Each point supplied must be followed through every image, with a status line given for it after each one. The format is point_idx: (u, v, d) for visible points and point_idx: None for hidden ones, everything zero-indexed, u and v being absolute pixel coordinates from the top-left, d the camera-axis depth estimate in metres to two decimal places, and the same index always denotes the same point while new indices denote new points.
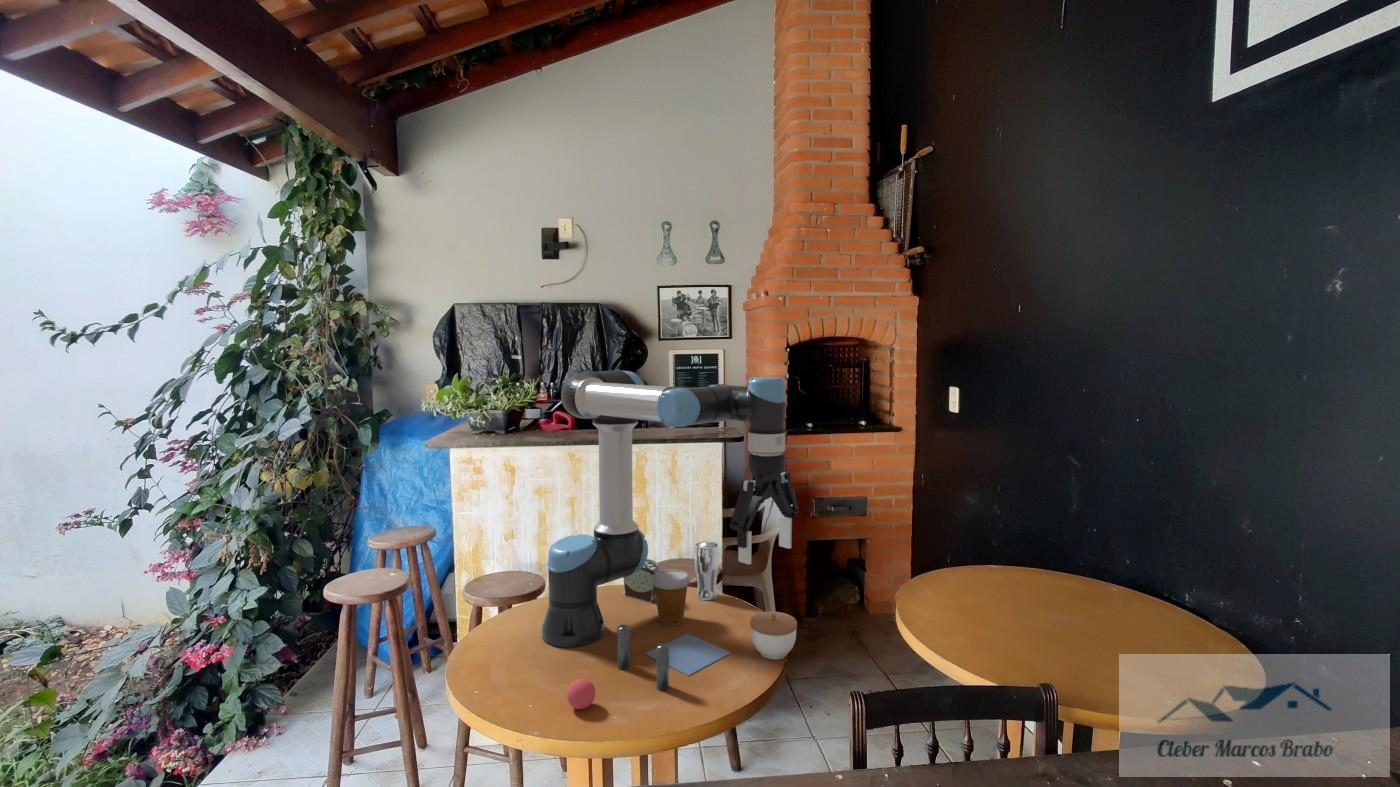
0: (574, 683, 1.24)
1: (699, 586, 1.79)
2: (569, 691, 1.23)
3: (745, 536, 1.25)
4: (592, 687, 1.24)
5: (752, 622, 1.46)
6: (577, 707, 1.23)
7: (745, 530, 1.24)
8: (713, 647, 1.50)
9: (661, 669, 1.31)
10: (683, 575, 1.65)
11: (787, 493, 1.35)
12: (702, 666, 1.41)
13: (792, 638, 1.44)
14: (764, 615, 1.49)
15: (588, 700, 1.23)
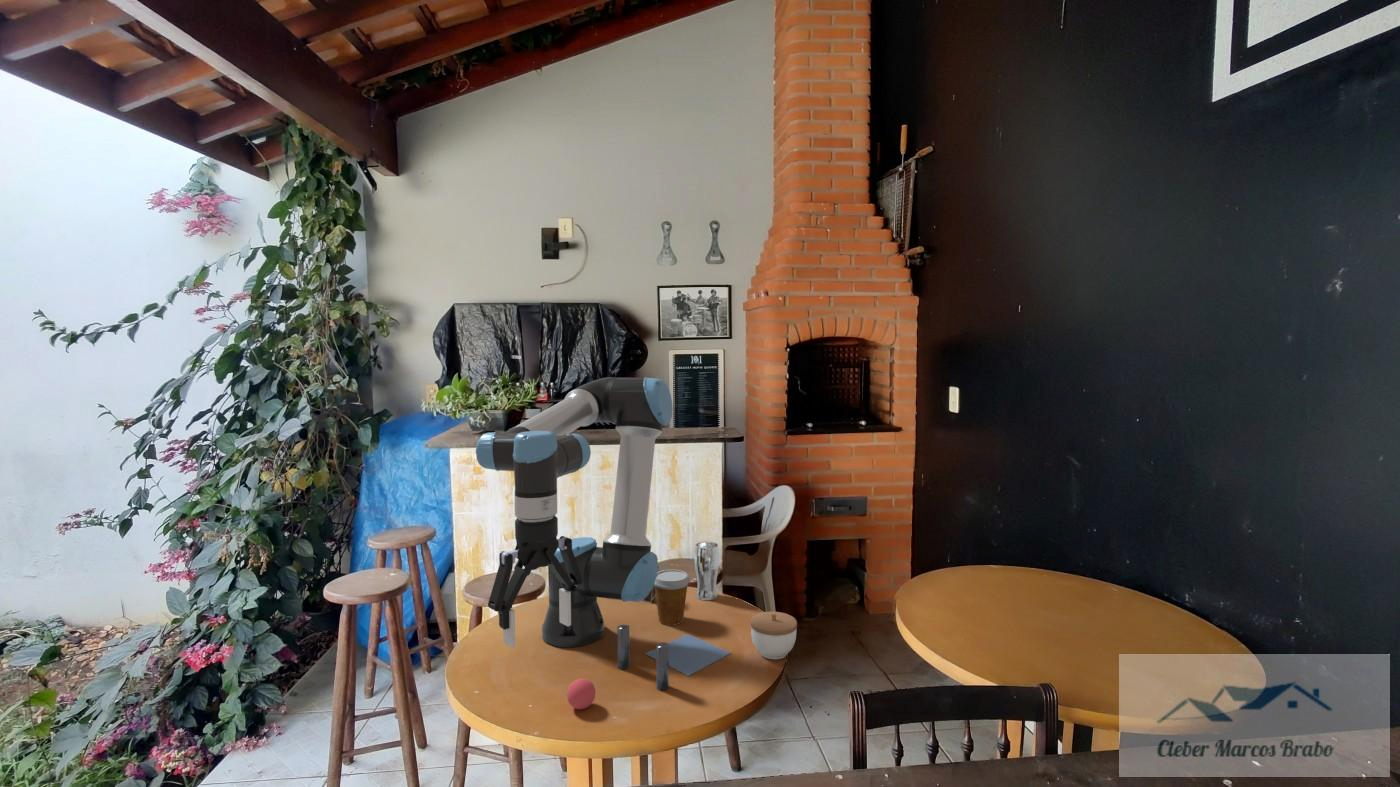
0: (574, 683, 1.24)
1: (699, 586, 1.79)
2: (569, 691, 1.23)
3: (506, 616, 1.11)
4: (592, 687, 1.24)
5: (752, 622, 1.46)
6: (577, 707, 1.23)
7: (505, 610, 1.10)
8: (713, 647, 1.50)
9: (661, 669, 1.31)
10: (683, 575, 1.65)
11: (568, 562, 1.20)
12: (702, 666, 1.41)
13: (792, 638, 1.44)
14: (764, 615, 1.49)
15: (588, 700, 1.23)
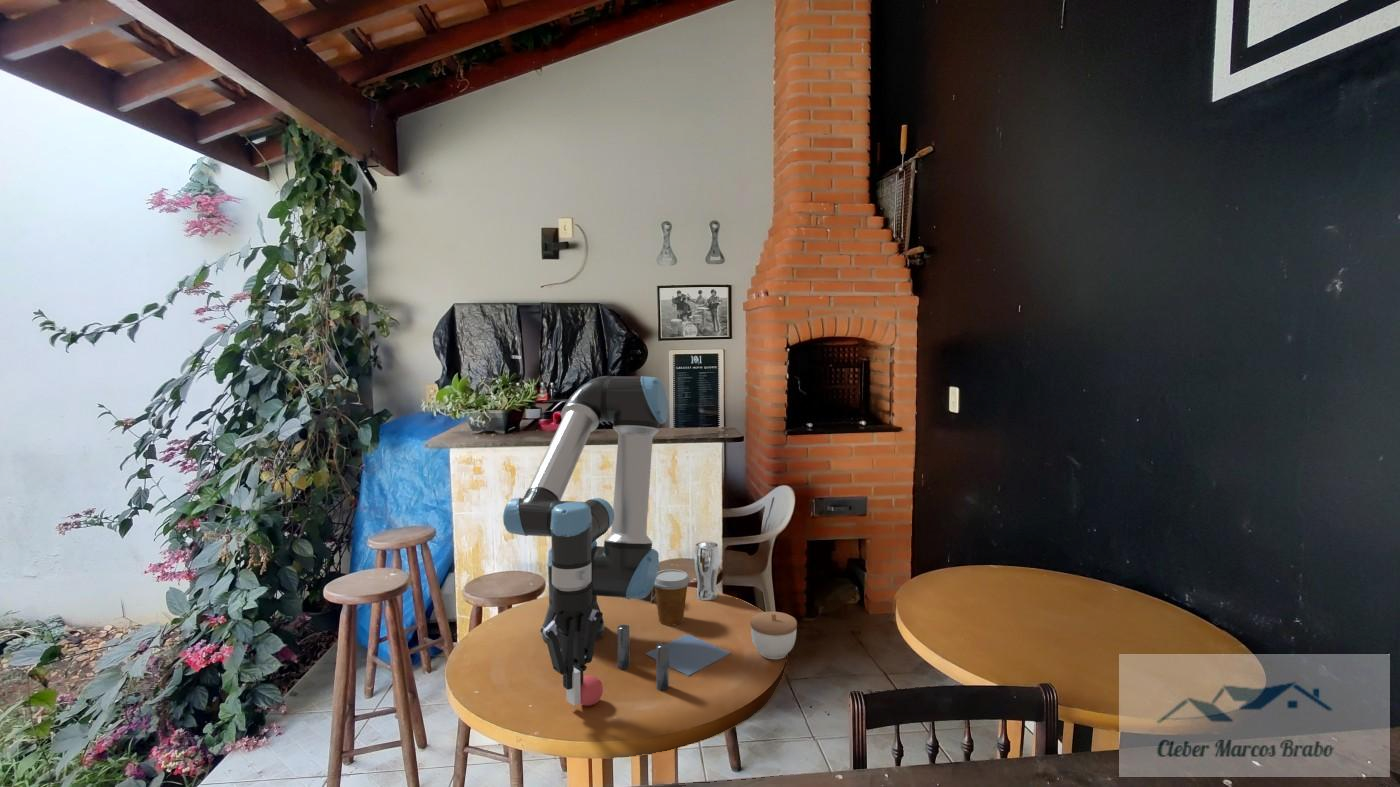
0: (586, 676, 1.26)
1: (699, 586, 1.79)
2: None
3: (570, 678, 1.22)
4: (601, 686, 1.26)
5: (752, 622, 1.46)
6: (583, 700, 1.23)
7: (570, 673, 1.21)
8: (713, 647, 1.50)
9: (661, 669, 1.31)
10: (683, 575, 1.65)
11: (589, 634, 1.25)
12: (702, 666, 1.41)
13: (792, 638, 1.44)
14: (764, 615, 1.49)
15: (596, 696, 1.24)
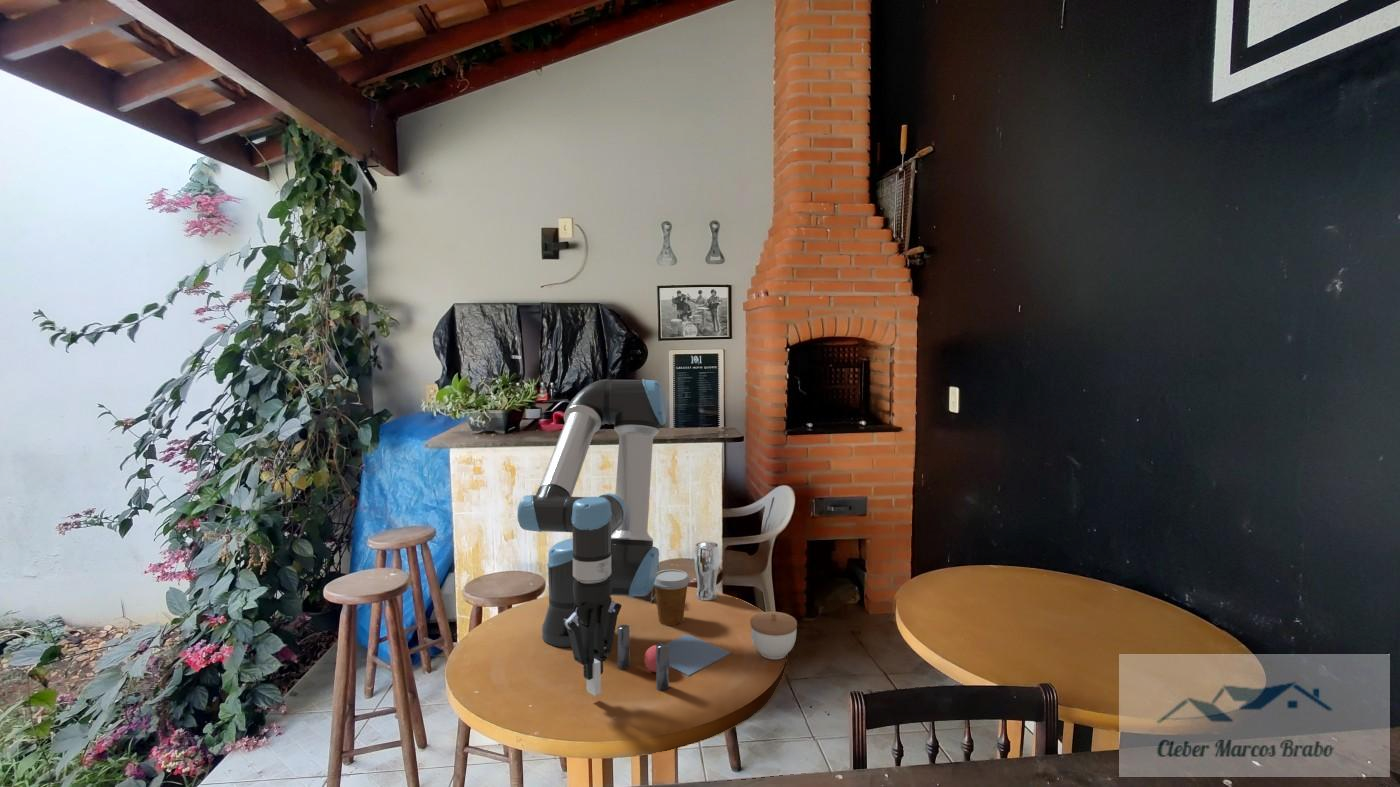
0: None
1: (699, 586, 1.79)
2: (650, 649, 1.38)
3: (590, 668, 1.25)
4: None
5: (752, 622, 1.46)
6: (652, 665, 1.36)
7: (590, 663, 1.25)
8: (713, 647, 1.50)
9: (661, 669, 1.31)
10: (683, 575, 1.65)
11: (608, 626, 1.28)
12: (702, 666, 1.41)
13: (792, 638, 1.44)
14: (764, 615, 1.49)
15: None
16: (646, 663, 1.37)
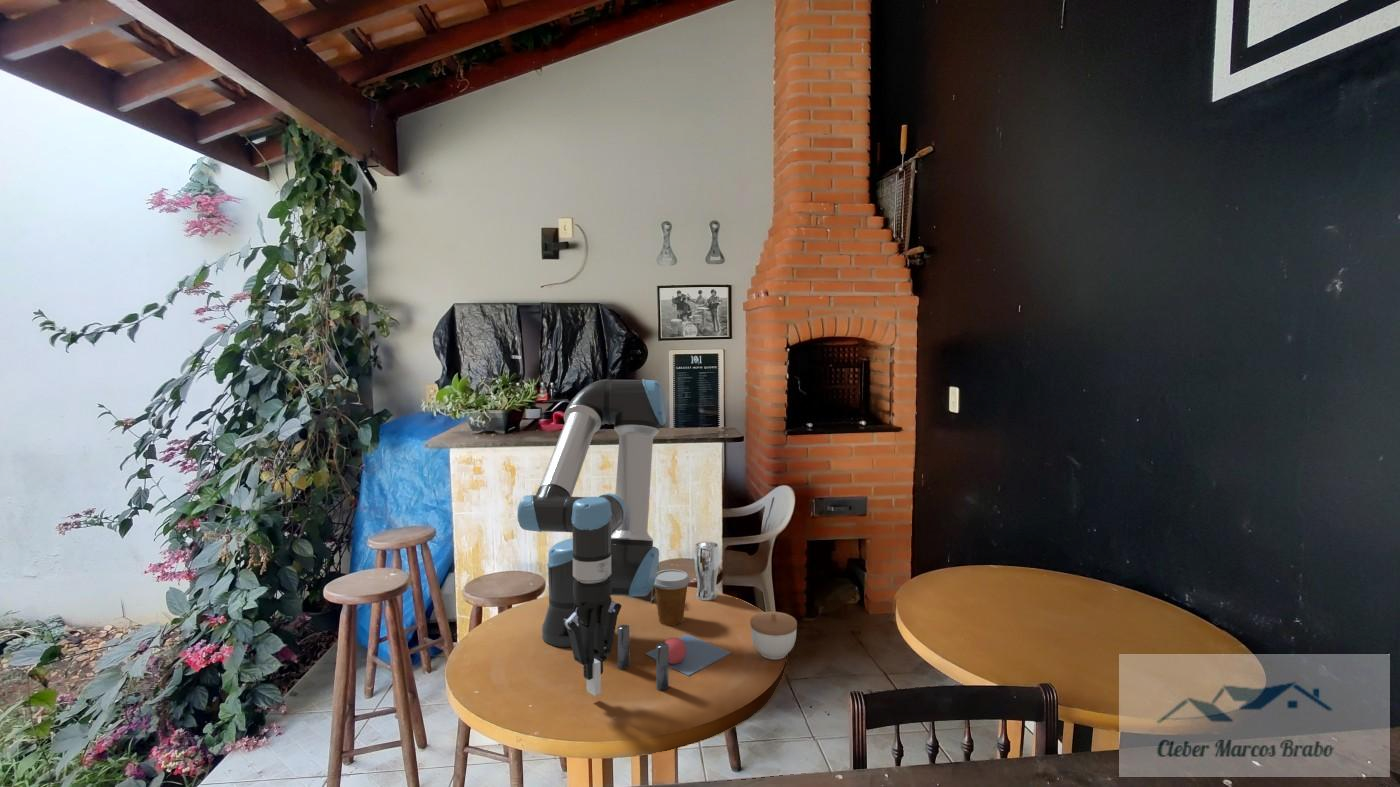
0: None
1: (699, 586, 1.79)
2: None
3: (590, 668, 1.25)
4: None
5: (752, 622, 1.46)
6: (679, 641, 1.42)
7: (590, 663, 1.25)
8: (713, 647, 1.50)
9: (661, 669, 1.31)
10: (683, 575, 1.65)
11: (608, 626, 1.28)
12: (702, 666, 1.41)
13: (792, 638, 1.44)
14: (764, 615, 1.49)
15: (682, 653, 1.41)
16: None
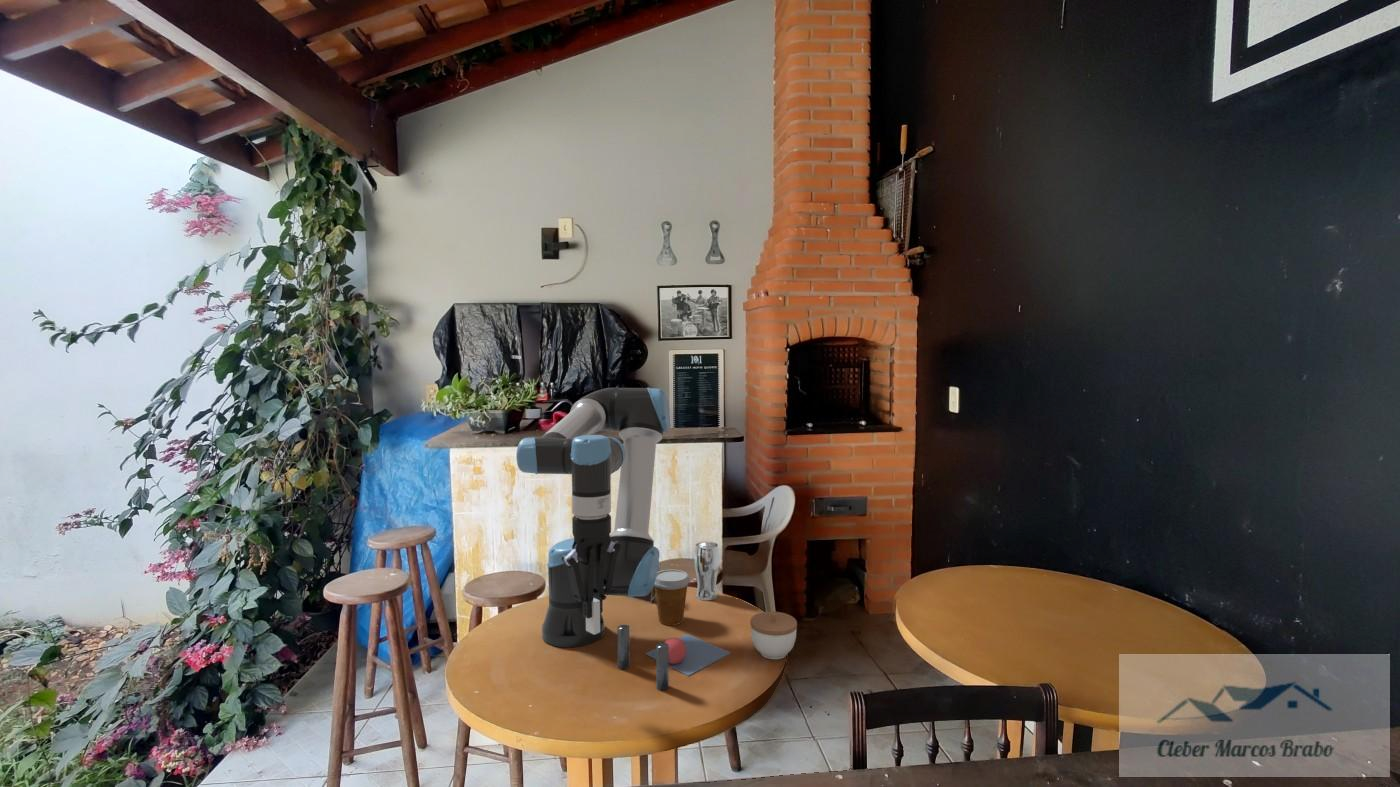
0: None
1: (699, 586, 1.79)
2: None
3: (590, 606, 1.24)
4: None
5: (752, 622, 1.46)
6: (679, 641, 1.42)
7: (590, 601, 1.24)
8: (713, 647, 1.50)
9: (661, 669, 1.31)
10: (683, 575, 1.65)
11: (607, 566, 1.27)
12: (702, 666, 1.41)
13: (792, 638, 1.44)
14: (764, 615, 1.49)
15: (682, 653, 1.41)
16: None
